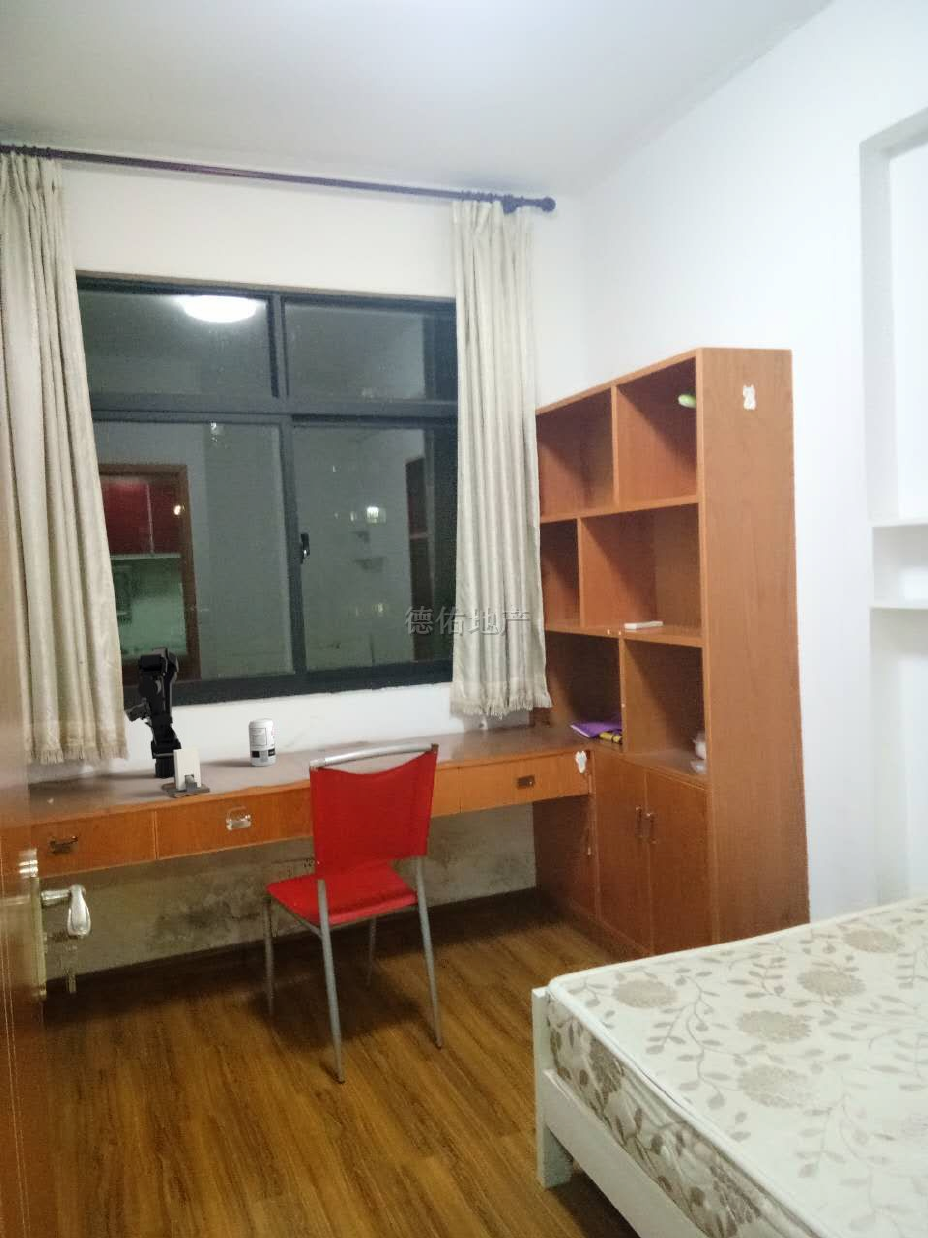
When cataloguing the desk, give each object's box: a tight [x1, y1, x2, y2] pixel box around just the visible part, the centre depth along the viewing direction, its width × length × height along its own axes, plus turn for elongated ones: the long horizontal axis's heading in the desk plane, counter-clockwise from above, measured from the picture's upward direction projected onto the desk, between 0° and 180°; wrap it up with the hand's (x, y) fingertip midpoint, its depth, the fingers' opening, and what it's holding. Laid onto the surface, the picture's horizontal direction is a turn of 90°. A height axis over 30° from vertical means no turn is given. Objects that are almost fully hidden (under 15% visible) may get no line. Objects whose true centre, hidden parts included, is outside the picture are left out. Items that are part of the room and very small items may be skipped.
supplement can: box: [247, 718, 277, 768], centre depth 294 cm, size 8×8×15 cm
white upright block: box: [173, 746, 202, 791], centre depth 260 cm, size 4×6×11 cm, turn 121°
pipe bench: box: [162, 774, 211, 798], centre depth 264 cm, size 17×10×5 cm, turn 31°
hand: (157, 744), depth 269 cm, fingers closed
